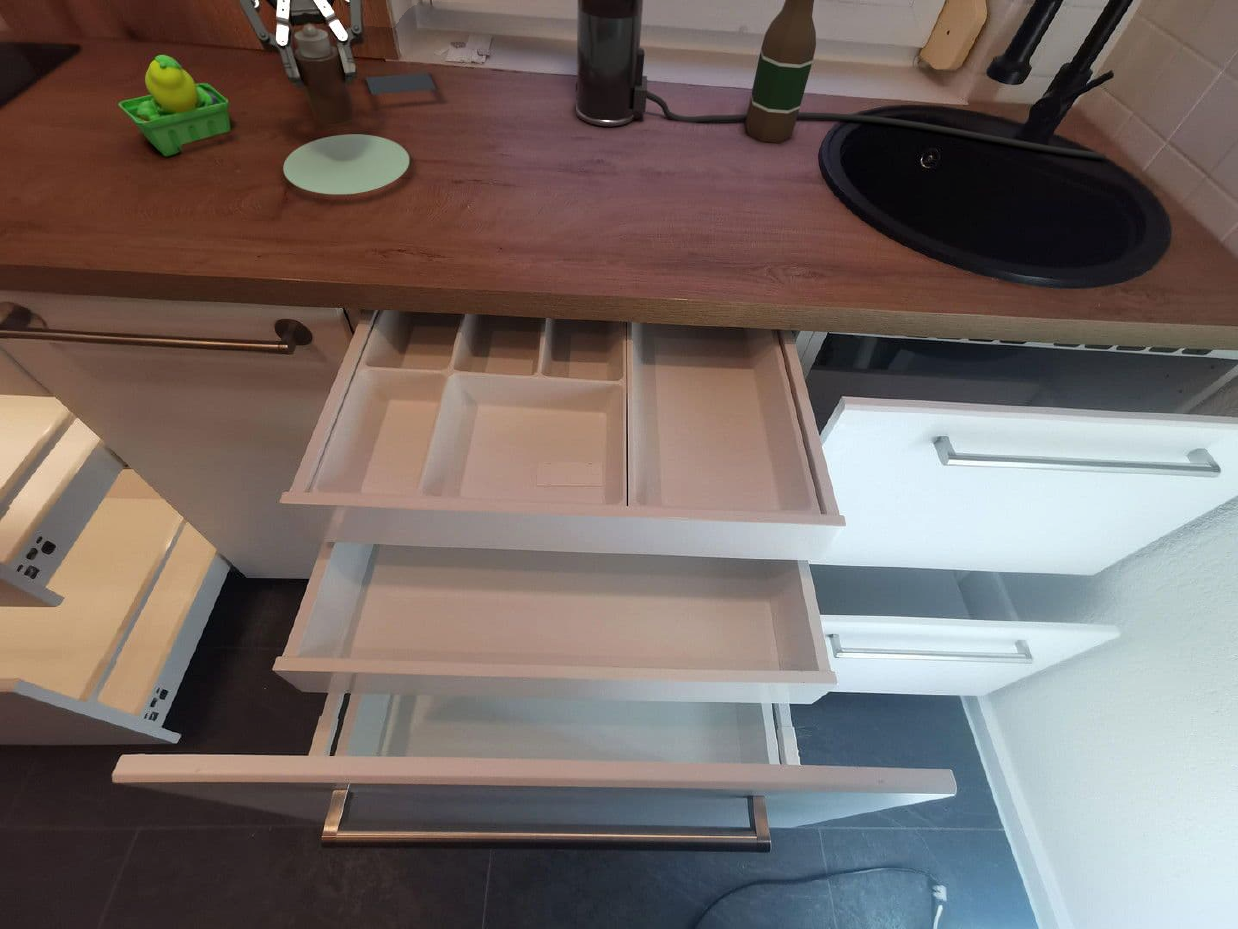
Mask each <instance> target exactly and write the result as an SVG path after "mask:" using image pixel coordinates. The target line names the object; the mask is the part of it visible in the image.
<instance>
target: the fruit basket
mask: <svg viewBox="0 0 1238 929" xmlns="http://www.w3.org/2000/svg"><path fill="white" fill-rule="evenodd" d="M144 84H145V87H146V89H147V91H148V93H149V94H148V95H144V96H139V97H135V98H129V99H125V100H122V101H120V102H119V103H118V107H120V109H121V110H122V111H123V112H124V114H125V115H127V116H128V117H129V118H130V119H131V120H132V122H133V123H134V125H135V126H136V127H137V128H138V129H139V131H140V132H141V133H142V134H143V135H144V137H145V138H146V139H147V140H148V142H150V144H151V145H153V146H154V147H155V149H156V150H158V152H160V153H161V154H162V155H163V157H170V156H173V155H177V154H180V153H182V145H185V144H189V143H192V142H195V141H198V140H203V139H207V138H211V137H213V136H216V135H222V134H225V133H228V132H231V131H232V130H231V121H230V114H229V100H228V99H227V98H226V97H225V96H224V95H223V94H221V93H220V92H219V91H218V90H216V89H215V88H214V87H213V86H212V85H210V84H209V83H206V82H201V83H196V82H195V80H194V79H193V77H192V76H191V75H190V73H189V72H187V71H186V70H185V69H183V68H182V64H180V63H178V61H177V60H176V59H175V58H173V57H172V56H168V55H167V54H159V55H157V56H155V57H154V60H152V61H151V63H150V64H149V67H148V69H147V71H146V73H145V77H144Z"/></svg>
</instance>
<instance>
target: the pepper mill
mask: <svg viewBox="0 0 1238 929" xmlns="http://www.w3.org/2000/svg"><path fill="white" fill-rule="evenodd" d="M294 40H295V42H296V45H297V49H295V50H294V51H293V52H294V57H295V60H296V63H297V66H298V69H299V72H300V75H301V79H302V82H303V85H304V88H303V89H304V91H305V94H306V97H307V100H308V103H309V106H310V109H311V112H312V115H313V119H314V120H315V121H316V122H318V123H320V124H323V125H340V124H344V123H348V122H350V121H353V119H354V118H355V117H356V115H357V114H356V108H355V106H354V102H353V99H352V95H351V91H350V87H349V84H348V83H347V79H346V76H345V72H344V68H343V65H342V61H341V57H340V54H339V50H338V47H337V46H333V45H332V43H331V41H330V37H329V32H328V31H327V30H323V29H319V28H317V27H316V26H314V24H312V23H307V24H304V25H303V27H302V29H301V30H298V31H297V32H295V34H294Z"/></svg>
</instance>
